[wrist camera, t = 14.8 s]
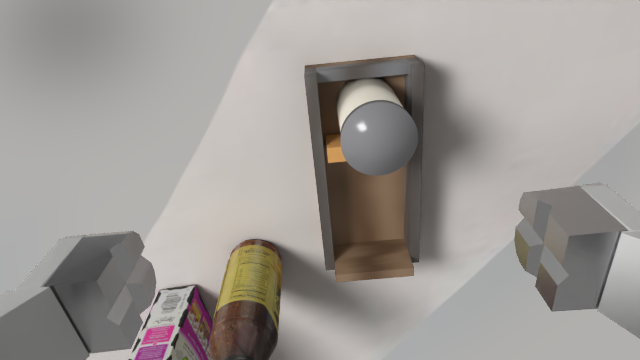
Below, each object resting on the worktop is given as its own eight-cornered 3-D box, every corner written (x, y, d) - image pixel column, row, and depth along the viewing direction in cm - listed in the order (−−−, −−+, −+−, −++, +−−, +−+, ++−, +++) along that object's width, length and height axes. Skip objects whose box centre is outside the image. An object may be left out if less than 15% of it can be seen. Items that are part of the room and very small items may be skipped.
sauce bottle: (266, 284, 51) (244, 457, 34) (220, 264, 49) (172, 434, 32) (294, 248, 49) (286, 415, 31) (246, 225, 47) (209, 388, 29)
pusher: (402, 127, 40) (408, 140, 38) (402, 142, 41) (408, 155, 38) (325, 135, 40) (326, 148, 38) (326, 149, 41) (328, 162, 38)
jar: (400, 73, 38) (424, 106, 30) (391, 133, 41) (411, 177, 33) (336, 70, 38) (344, 102, 30) (332, 130, 40) (337, 174, 33)
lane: (413, 54, 38) (430, 71, 33) (410, 239, 48) (423, 274, 43) (304, 65, 38) (304, 84, 33) (324, 247, 48) (326, 283, 43)
